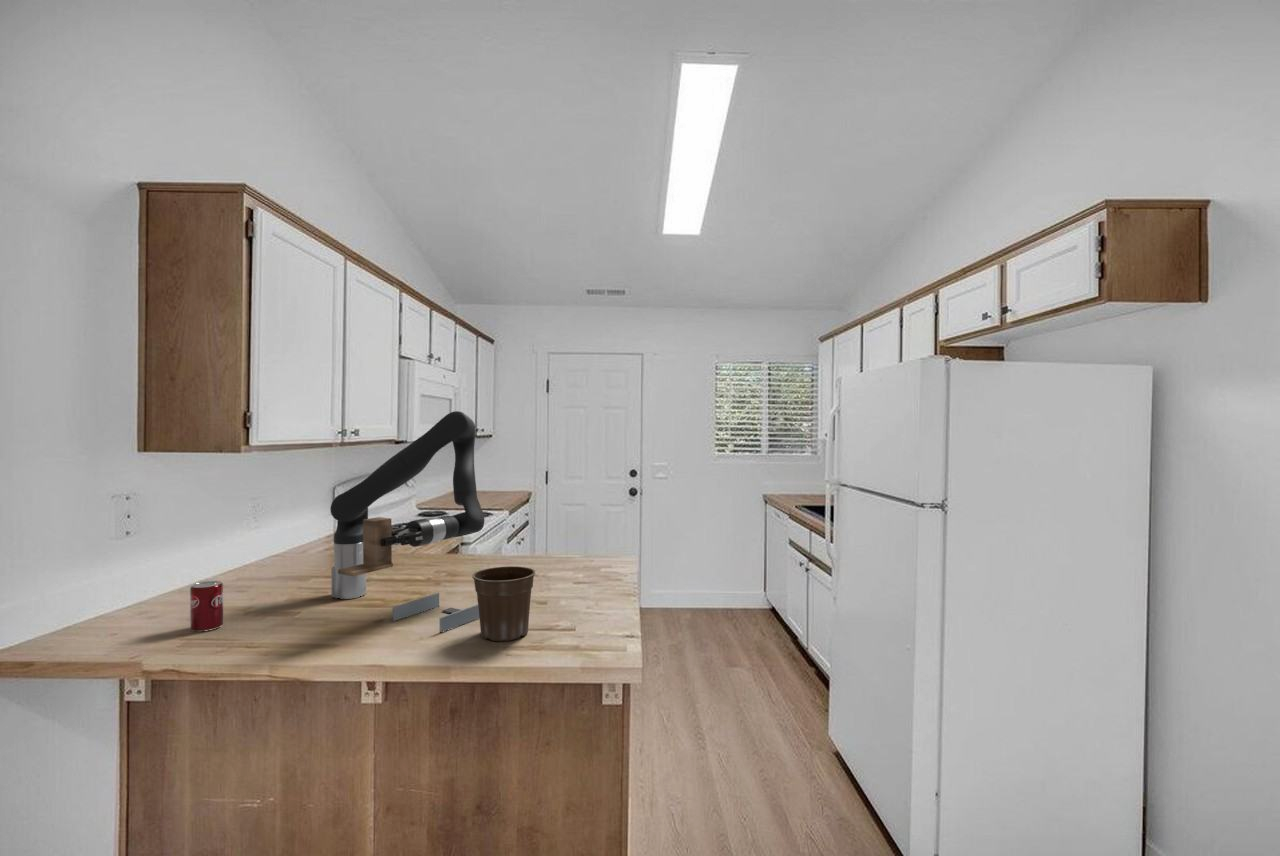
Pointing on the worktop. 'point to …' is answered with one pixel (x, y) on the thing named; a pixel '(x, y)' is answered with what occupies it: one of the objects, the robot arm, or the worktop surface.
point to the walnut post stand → (373, 548)
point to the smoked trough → (431, 602)
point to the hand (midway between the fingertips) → (375, 541)
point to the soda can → (206, 605)
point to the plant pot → (504, 601)
